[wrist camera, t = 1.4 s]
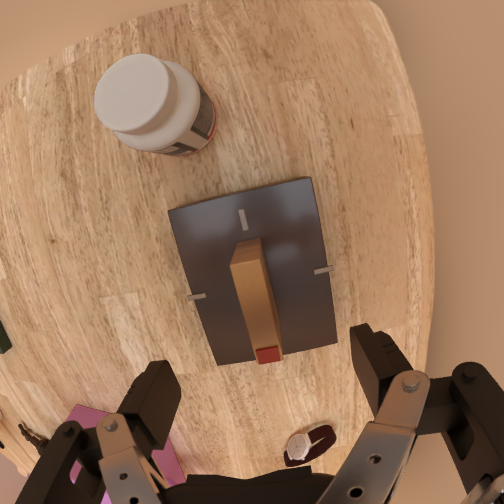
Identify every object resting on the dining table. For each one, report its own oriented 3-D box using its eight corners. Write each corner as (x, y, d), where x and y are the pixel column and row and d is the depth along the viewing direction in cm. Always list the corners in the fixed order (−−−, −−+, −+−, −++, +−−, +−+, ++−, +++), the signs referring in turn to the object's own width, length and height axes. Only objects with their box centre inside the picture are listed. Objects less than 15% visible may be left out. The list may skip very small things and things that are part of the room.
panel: (172, 207, 22) (161, 212, 19) (309, 175, 21) (316, 175, 18) (217, 350, 25) (212, 367, 22) (335, 326, 24) (342, 343, 21)
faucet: (95, 481, 35) (40, 445, 37) (76, 442, 30) (15, 398, 32) (86, 496, 31) (29, 458, 32) (62, 462, 26) (0, 412, 27)
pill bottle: (182, 78, 19) (133, 24, 9) (233, 118, 20) (211, 76, 10) (138, 130, 20) (64, 109, 11) (185, 171, 21) (130, 171, 11)
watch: (313, 415, 27) (317, 440, 24) (344, 426, 28) (350, 448, 24) (273, 449, 29) (273, 472, 25) (303, 458, 29) (305, 479, 26)
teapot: (40, 392, 29) (-7, 453, 15) (204, 427, 28) (183, 531, 14) (77, 453, 33) (48, 509, 19) (217, 484, 32) (207, 559, 18)
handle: (236, 242, 20) (228, 266, 15) (260, 237, 19) (259, 260, 14) (258, 325, 21) (257, 367, 16) (279, 320, 21) (284, 362, 16)
